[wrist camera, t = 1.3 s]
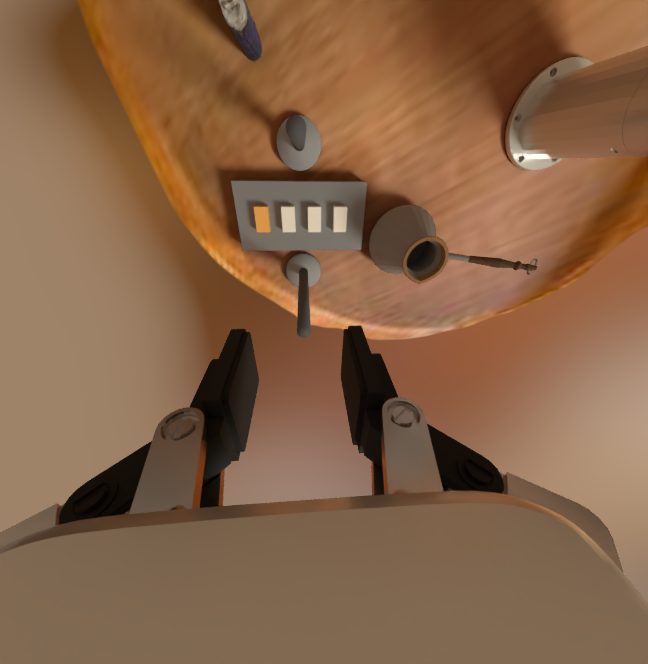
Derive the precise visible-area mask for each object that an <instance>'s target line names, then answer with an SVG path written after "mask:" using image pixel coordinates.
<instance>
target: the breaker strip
mask: <svg viewBox="0 0 648 664" xmlns="http://www.w3.org/2000/svg"><path fill="white" fill-rule="evenodd" d="M231 185H232V190H233V196H234V202H235V208H236V214H237V220H238V226H239V232H240V238H241V244H242V250H243V251H274V250H361V244H362V233H363V223H364V212H365V201H366V190H367V182H365V181H311V180H233V181H231Z"/></svg>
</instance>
